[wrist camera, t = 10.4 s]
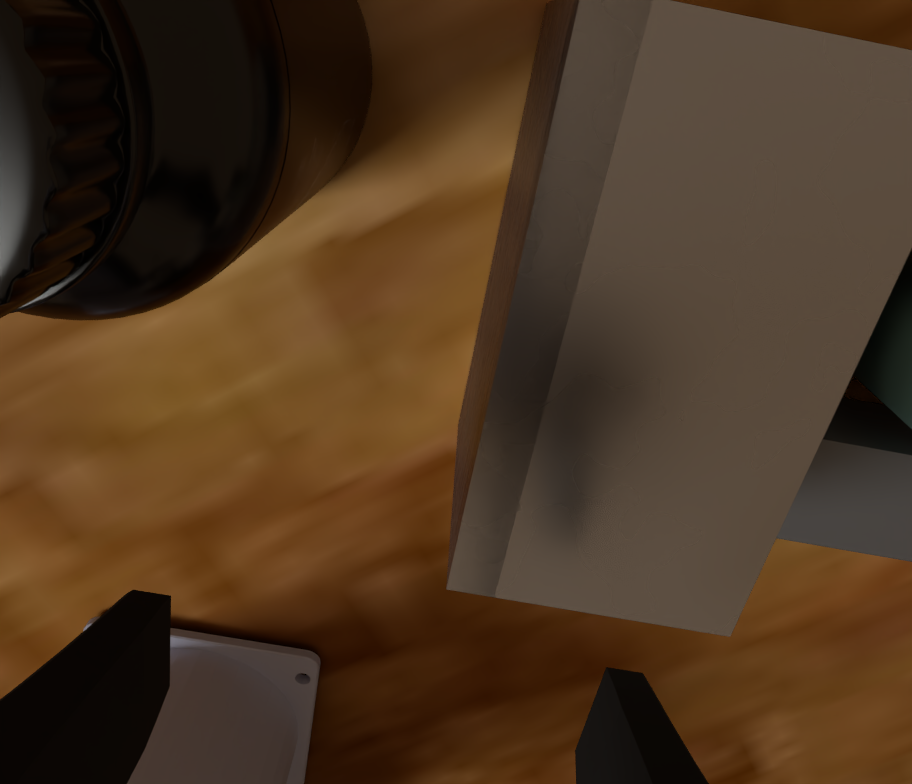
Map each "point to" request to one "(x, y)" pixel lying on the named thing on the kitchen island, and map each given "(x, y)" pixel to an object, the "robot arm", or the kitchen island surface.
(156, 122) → the supplement bottle
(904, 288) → the peg
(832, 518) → the socket block
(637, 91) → the grey rectangular block
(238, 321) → the kitchen island surface
